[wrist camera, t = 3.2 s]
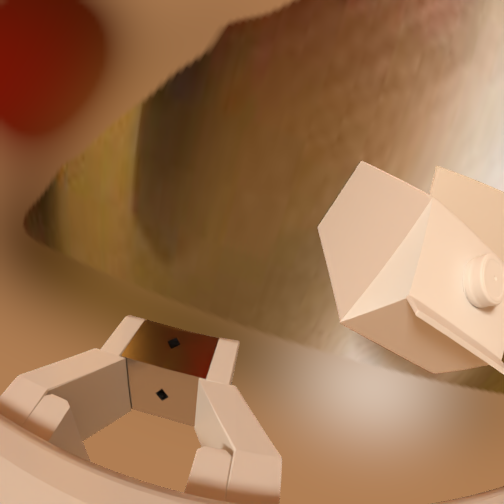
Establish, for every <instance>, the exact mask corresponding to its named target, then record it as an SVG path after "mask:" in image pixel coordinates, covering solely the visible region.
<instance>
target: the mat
mask: <svg viewBox="0 0 504 504" xmlns="http://www.w3.org/2000/svg"><path fill="white" fill-rule="evenodd" d="M429 195H430V196H432V197H434V198H435V199H437V200H438V201H439V202H440V203H442V204H443V205H444V206H445V207H446V208H448V209H449V210H450V211H451V212H452V213H453V214H454V215H456V216H457V217H458V218H459V219H460V220H461V221H462V222H463V223H464V224H465V225H466V226H468V227H469V228H470V229H471V230H472V231H473V232H474V233H475V234H476V235H477V236H478V237H479V238H480V239H481V240H482V241H483V242H484V243H485V244H486V245H487V246H488V247H489V248H490V249H491V250H492V251H493V252H494V253H495V254H496V255H497V256H498V257H499V258H500V259H501V260H502V261H503V262H504V192H502V191H500V190H498V189H495V188H493V187H491V186H488V185H486V184H484V183H481V182H479V181H476V180H474V179H471V178H469V177H466V176H463V175H461V174H458V173H455V172H453V171H450V170H447V169H444V168H442V167H439V166H436V168H435V172H434V176H433V180H432V184H431V188H430V192H429Z"/></svg>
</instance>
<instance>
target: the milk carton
mask: <svg viewBox="0 0 504 504" xmlns="http://www.w3.org/2000/svg"><path fill="white" fill-rule="evenodd" d="M317 228H318V232H319V236H320V239H321V243H322V247H323V251H324V255H325V259H326V263H327V267H328V271H329V275H330V280H331V284H332V288H333V292H334V297H335V301H336V305H337V310H338V314H339V319H340V323H341V324H343V325H344V326H346V327H348V328H350V329H351V330H353V331H355V332H357V333H359V334H360V335H362V336H364V337H366V338H368V339H370V340H371V341H373V342H375V343H377V344H379V345H381V346H383V347H384V348H386V349H388V350H390V351H392V352H394V353H395V354H397V355H399V356H401V357H403V358H405V359H407V360H408V361H410V362H412V363H414V364H416V365H418V366H420V367H422V368H423V369H425V370H427V371H429V372H431V373H434V374H437V373H444V372H451V371H457V370H463V369H469V368H475V367H480V366H486V365H491V366H492V367H494V368H495V369H497V370H498V371H500V372H501V373H502V374H504V364H503V362H502V361H501V360H502V356H503V352H504V262H503V261H502V260H501V259H500V258H499V257H498V256H497V255H496V254H495V253H494V252H493V251H492V250H491V249H490V248H489V247H488V246H487V245H486V244H485V243H484V242H483V241H482V240H481V239H480V238H479V237H478V236H477V235H476V234H475V233H474V232H473V231H472V230H471V229H470V228H469V227H468V226H466V225H465V224H464V223H463V222H462V221H461V220H460V219H459V218H458V217H457V216H456V215H454V214H453V213H452V212H451V211H450V210H449V209H448V208H446V207H445V206H444V205H443V204H442V203H440V202H439V201H438V200H437V199H435V198H434V197H432V196H430V195H429V194H427V193H425V192H423V191H421V190H420V189H418V188H416V187H414V186H412V185H410V184H408V183H406V182H404V181H402V180H400V179H398V178H396V177H394V176H392V175H390V174H388V173H386V172H384V171H382V170H380V169H378V168H376V167H374V166H372V165H370V164H368V163H365V162H363V161H361V162H360V163H359V165H358V166H357V168H356V170H355V171H354V173H353V174H352V176H351V177H350V179H349V180H348V182H347V183H346V185H345V186H344V188H343V189H342V191H341V193H340V194H339V196H338V197H337V199H336V200H335V202H334V203H333V205H332V206H331V208H330V209H329V211H328V212H327V214H326V215H325V217H324V218H323V220H322V221H321V223H320V224H319V226H318V227H317Z"/></svg>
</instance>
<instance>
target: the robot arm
mask: <svg viewBox="0 0 504 504" xmlns="http://www.w3.org/2000/svg"><path fill="white" fill-rule="evenodd" d="M238 348H239V341H237V340H231V339H226V338H217V337H212V336H207V335H203V334H199V333H194V332H190V331H186V330H182V329H179V328H175V327H171V326H167V325H164V324H160V323H157V322H153V321H149V320H145V319H142V318H138V317H134V316H131V315H129V316H126V317H125V318H124V319H123V321H122V322H121V323H120V325H119V326H118V327H117V328H116V330H115V331H114V332H113V334H112V335H111V336H110V338H109V339H108V340H107V342H106V343H105V344H104V346H103V347H102V348H101V349H100V350H99V349H96V348H95V349H92V350H89V351H86V352H83V353H81V354H78V355H75V356H72V357H70V358H67V359H64V360H61V361H58V362H56V363H53V364H50V365H47V366H44V367H41V368H38V369H36V370H33V371H30V372H27V373H24V374H21V375H18V377H17V378H16V379H15V380H14V381H13V382H12V383H11V385H10V386H9V387H8V388H7V389H6V390H5V391H4V393H3V394H2V395H1V396H0V504H279V500H280V484H281V467H282V457H281V456H280V454H279V453H278V451H277V450H276V448H275V447H274V445H273V444H272V442H271V441H270V439H269V438H268V436H267V435H266V433H265V432H264V430H263V428H262V427H261V425H260V424H259V422H258V421H257V419H256V417H255V416H254V414H253V413H252V411H251V409H250V408H249V407H248V405H247V403H246V401H245V400H244V398H243V396H242V395H241V393H240V392H239V390H238V388H237V387H236V386H233V385H231V384H232V379H233V374H234V369H235V364H236V358H237V353H238ZM131 409H134V410H137V411H141V412H144V413H148V414H151V415H156V416H159V417H163V418H166V419H169V420H173V421H176V422H180V423H183V424H187V425H191V426H194V427H195V431H196V434H197V436H198V439H199V441H200V444H201V446H202V447H201V448H199V449H197V452H196V455H195V459H194V462H193V465H192V469H191V472H190V476H189V479H188V482H187V486H186V489H185V492H184V493H183V492H179V491H175V490H171V489H168V488H164V487H161V486H157V485H154V484H151V483H147V482H144V481H141V480H138V479H135V478H132V477H129V476H126V475H124V474H121V473H118V472H115V471H113V470H110V469H107V468H104V467H102V466H100V465H97V464H95V463H93V462H91V461H90V459H89V457H88V454H87V452H86V449H85V447H84V445H83V442H82V441H84V440H85V439H87V438H88V437H90V436H92V435H93V434H95V433H96V432H98V431H100V430H101V429H103V428H104V427H106V426H108V425H109V424H111V423H113V422H114V421H116V420H117V419H119V418H120V417H122V416H123V415H125V414H127V413H128V412H130V411H131ZM432 504H504V486H503V487H500V488H496V489H493V490H489V491H486V492H482V493H479V494H475V495H471V496H467V497H462V498H458V499H453V500H449V501H443V502H438V503H432Z"/></svg>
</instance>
